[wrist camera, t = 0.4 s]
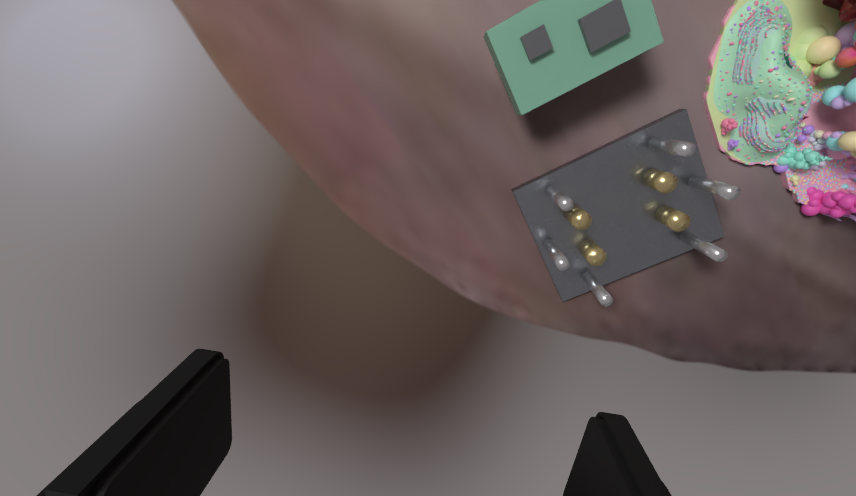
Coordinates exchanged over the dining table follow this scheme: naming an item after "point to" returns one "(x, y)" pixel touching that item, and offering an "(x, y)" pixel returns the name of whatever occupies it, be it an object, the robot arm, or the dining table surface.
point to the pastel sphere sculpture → (789, 96)
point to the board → (567, 45)
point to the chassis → (624, 208)
